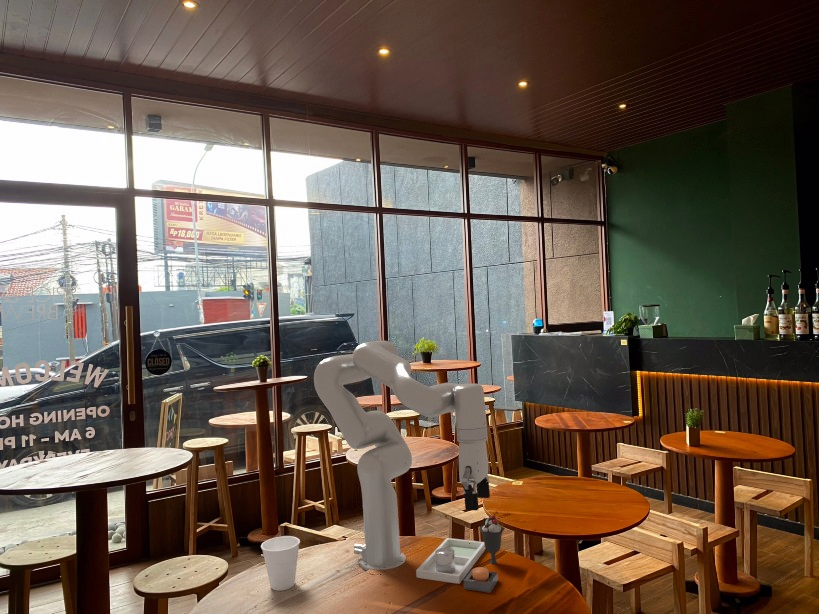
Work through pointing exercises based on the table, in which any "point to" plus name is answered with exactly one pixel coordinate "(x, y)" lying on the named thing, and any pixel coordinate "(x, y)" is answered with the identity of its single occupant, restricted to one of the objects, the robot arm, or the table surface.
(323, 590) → the table surface
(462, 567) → the shallow white tray
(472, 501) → the robot arm
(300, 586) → the table surface
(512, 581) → the table surface
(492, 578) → the button housing
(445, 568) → the cylinder
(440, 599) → the table surface
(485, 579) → the button cap
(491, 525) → the sundae
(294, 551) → the cup
